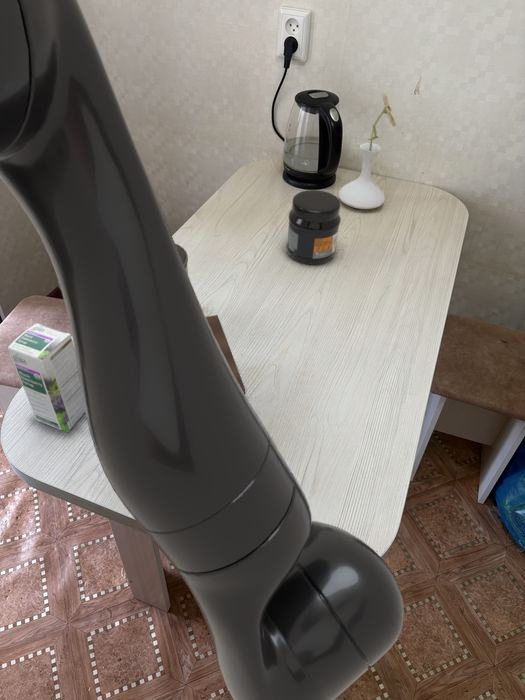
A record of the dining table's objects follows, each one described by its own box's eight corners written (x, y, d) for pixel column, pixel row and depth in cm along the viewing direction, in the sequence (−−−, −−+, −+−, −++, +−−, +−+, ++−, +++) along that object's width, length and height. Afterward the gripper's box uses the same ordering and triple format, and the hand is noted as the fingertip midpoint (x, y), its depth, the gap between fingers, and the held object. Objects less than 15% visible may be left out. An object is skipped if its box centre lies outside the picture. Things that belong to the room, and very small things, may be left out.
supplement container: (344, 259, 107) (353, 207, 98) (300, 270, 103) (306, 217, 95) (318, 235, 113) (325, 184, 105) (277, 245, 110) (281, 193, 101)
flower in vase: (376, 218, 120) (400, 107, 103) (331, 206, 124) (347, 97, 106) (390, 196, 129) (414, 90, 112) (347, 185, 132) (365, 81, 115)
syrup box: (34, 421, 73) (3, 348, 63) (61, 393, 77) (35, 320, 67) (67, 433, 71) (41, 361, 61) (92, 404, 75) (71, 331, 65)
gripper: (309, 470, 45) (263, 443, 62) (162, 507, 42) (155, 468, 59) (324, 552, 45) (274, 502, 62) (178, 595, 42) (167, 531, 59)
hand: (216, 485), depth 61 cm, fingers closed
